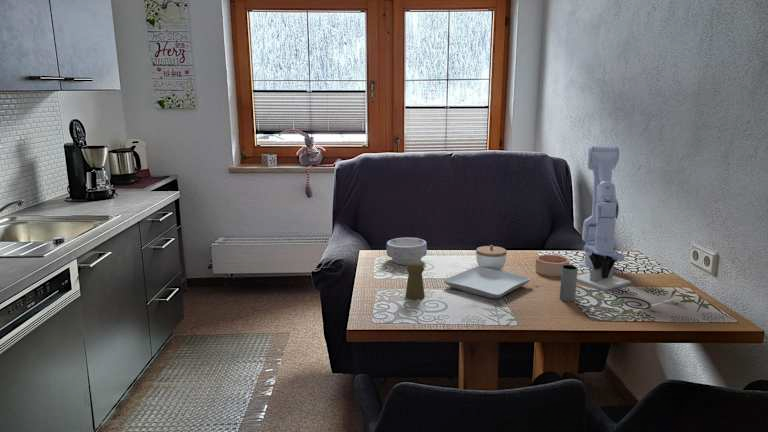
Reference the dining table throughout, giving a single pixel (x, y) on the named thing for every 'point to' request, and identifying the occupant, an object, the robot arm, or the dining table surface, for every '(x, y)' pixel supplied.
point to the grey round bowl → (406, 250)
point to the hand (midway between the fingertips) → (601, 276)
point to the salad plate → (487, 282)
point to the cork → (415, 281)
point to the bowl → (550, 264)
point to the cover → (602, 279)
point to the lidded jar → (491, 257)
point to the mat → (608, 289)
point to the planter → (568, 283)
